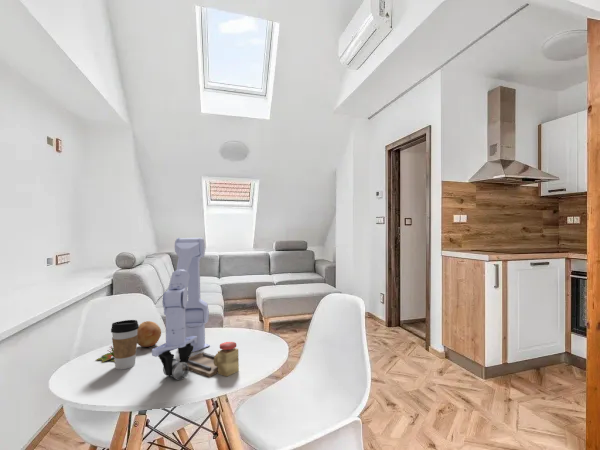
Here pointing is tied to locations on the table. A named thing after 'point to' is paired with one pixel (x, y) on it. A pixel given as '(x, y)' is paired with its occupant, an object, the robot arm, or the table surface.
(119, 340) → the coffee cup
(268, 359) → the table surface
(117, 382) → the table surface
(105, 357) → the lily flower
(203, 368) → the slider rig
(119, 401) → the table surface
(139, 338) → the onion
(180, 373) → the pipe coupling
